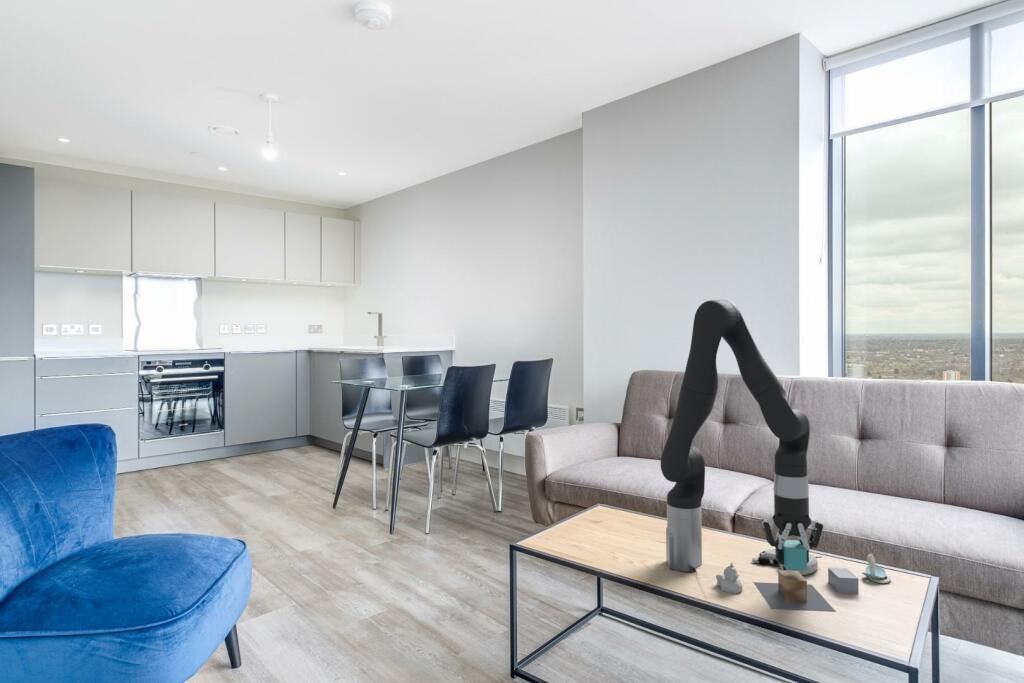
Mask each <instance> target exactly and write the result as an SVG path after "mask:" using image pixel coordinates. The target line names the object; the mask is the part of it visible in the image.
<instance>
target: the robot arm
mask: <svg viewBox="0 0 1024 683" xmlns="http://www.w3.org/2000/svg"><path fill="white" fill-rule="evenodd" d="M721 339H723V340H724V341H725V342H726V343H727V345H728V346H729V348H730V349H731V352H732V353H733V356H734V358H735V360H736V363H737V367H738V369H739V370H738V371H739V373H740V376H741V378H742V380H743V382H744V384H745V386H746V387H747V389H748V391H749V392H750V394H751V396H752V397H753V398H754V400H755V401H756V402H757V404H758V406H759V408H760V412H761V413H762V415H763V419H764V420H765V422H766V425H767V427H768V429H769V430H770V431H771V433H772V434H773V435H774V436H775V437H776V438H777V439H779V440H778V448H777V449H776V451H775V454H774V479H773V489H772V490H773V509H774V512H773V516H772V518H769V519H761V520H760V524H761V527H762V529H763V530H762V531H763V533H764V536H765V539H766V541H767V542H766V543H768V544H769V546H771V547H774V549H775V551H776V560H777V561H778V562H779V563H780V564H783V565H784V550H783V547H784V544H785V541H786V540H788V537H791V536H794V537H797V538H798V542H800V543H801V544H802V545H803V546H804V547H805V548H806V549H807V563H808V562H809V553H810V549H813V548H814V549H817V548H818V547H819V542H820V540H821V536H822V532H823V529H824V524H822V523H821V522H820V521H819V520H812V519H811V517H810V502H809V501H810V496H809V495H810V494H809V493H810V492H809V491H810V488H809V487H810V486H809V480H808V459H807V454H808V449H809V442H810V432H811V429H810V428H811V427H810V421H809V418H808V416H807V415H806V414H805V413H804V411H802V410H800V409H797V408H792V407H791V406H790V404H789V402H788V400H787V399H786V393H787V392H786V390H785V389H784V386H783V385H782V384H781V382H780V381H779V379H778V377H777V376H776V375H775V373H774V372H773V370H772V369H771V367H770V366H769V365H768V363H767V361H766V360H765V358H764V356H763V355H762V353H761V352H760V350H759V348H758V346H757V345H756V342H755V339H754V338H753V336H752V335H751V332H750V331H749V327H748V326H747V324H746V322H745V318H744V317H743V315H742V313H741V311H740V309H739V307H738V306H737V305H736V304H735V303H734V302H733V301H731V300H730V301H729V300H726V299H714V300H712V299H711V300H706V301H704V302H702V303H701V304H700V305H698V308H697V309H696V312H695V314H694V318H693V325H692V333H691V340H690V346H689V347H690V349H689V354H688V357H687V361H686V366H685V369H684V370H685V371H684V374H683V379H682V382H681V386H680V390H679V394H678V399H677V405H676V408H675V412H674V415H673V420H672V425H671V426H670V427H671V428H670V431H669V432H668V433H669V434H668V435H667V436H668V437H667V439H666V442H665V445H664V448H663V449H662V450H663V451H662V453H661V458H660V470H661V473H662V476H663V477H664V479H665V480H666V481H668V482H671V483H674V486H673V487H672V488H671V489H670V490H669V491H668V492H667V494H666V522H667V523H666V526H667V527H665V544H666V545H665V550H666V552H665V553H666V554H665V555H666V556H665V558H666V563H667V566H668V568H669V569H670V570H676V571H680V572H684V573H686V572H688V573H691V572H697V569H696V568H700V567H701V566H702V565H703V543H702V542H703V540H702V534H703V533H702V531H703V530H702V528H703V527H702V524H703V522H702V500H703V497H704V494H705V485H706V484H705V481H706V479H705V477H706V463H705V459H704V456H703V454H702V452H701V451H700V449H699V448H697V447H695V446H694V445H692V444H693V442H694V440H695V437H696V435H697V433H698V432H699V431H700V429H701V428H702V426H703V425H704V424H705V422H706V421H707V419H708V417H709V416H710V414H711V413H712V411H713V409H714V405H715V401H716V398H717V393H718V388H719V374H718V368H717V355H718V350H719V347H720V342H721V341H722V340H721ZM773 525H775V526H776V527H777V532H776V538H775V539H774V535H773V532H772V530H773V529H774V528H773V527H774V526H773ZM809 526H810V529H811V532H810V534H809V538H808V537H807V534H806V531H807V529H808V528H809Z"/></svg>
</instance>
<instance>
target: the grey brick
mask: <svg viewBox="0 0 1024 683" xmlns="http://www.w3.org/2000/svg"><path fill="white" fill-rule="evenodd" d="M827 581H828V584H830V585H831V587H833V588H834V590H836V592H838V594H839V593H840V594H841V593H842V594H857V595H858V594H859V592H860V591H859V586H860V585H859V577H858V576H857V575H855V574H854V573H853V572H852V571H851V570H850V569H849V568H847V567H827Z"/></svg>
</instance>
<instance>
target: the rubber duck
mask: <svg viewBox="0 0 1024 683" xmlns="http://www.w3.org/2000/svg"><path fill="white" fill-rule="evenodd" d="M739 576H740V574H739V573H738V571H737V569H736V567H735V566H734V564H733V562H731V563H730V564H729V565H728V566H727V567H726V568H725V569H724V570H723V574H721V573H719V574H718V573H717V574H716V575H715V578H716V580H717V581H716V585H717V586H719V587H720V589H721V591H722V592H726V593H730V594H739V593H742V591H743V585H742V582H741V580H740V579H739Z"/></svg>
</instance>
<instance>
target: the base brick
mask: <svg viewBox="0 0 1024 683" xmlns="http://www.w3.org/2000/svg"><path fill="white" fill-rule="evenodd" d="M777 572H778V573H777V575H778V576H777V577H778V578H777V580H778V582H777V583H778V590H779V592H780V593H781V594H782V595H783V597H784V598H785V599H786V601H788V602H807V584H808V580H806V578H805V577H804V575H801V574H800V573H799V572H798V571H794V570H781V569H778V570H777Z"/></svg>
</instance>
